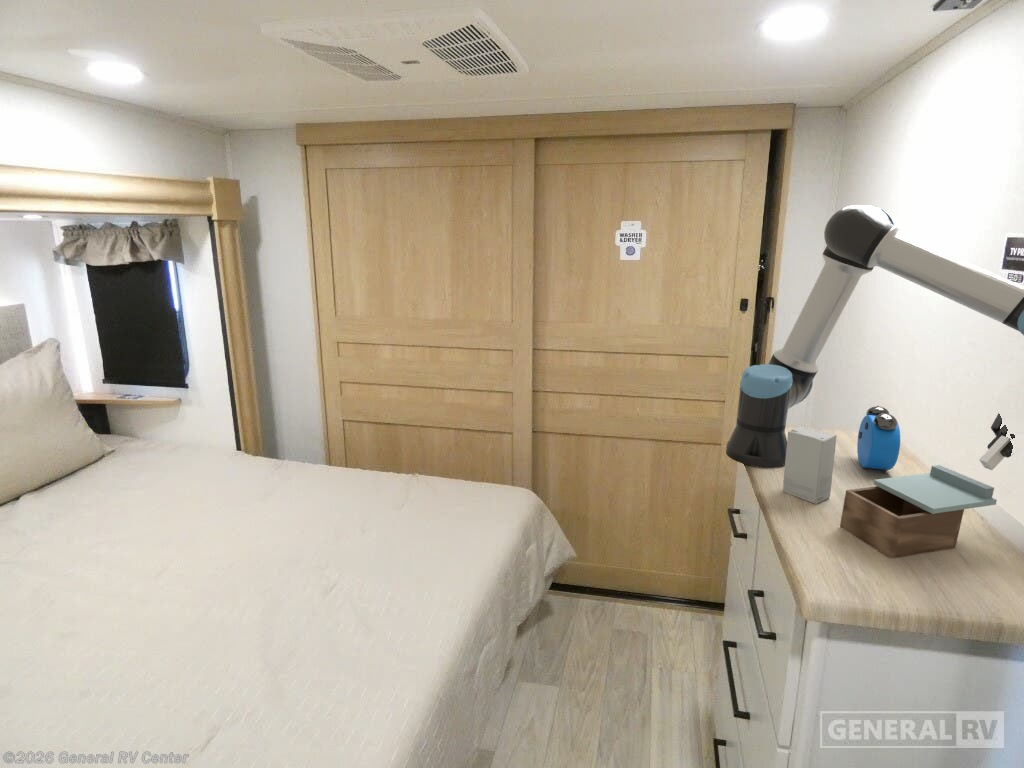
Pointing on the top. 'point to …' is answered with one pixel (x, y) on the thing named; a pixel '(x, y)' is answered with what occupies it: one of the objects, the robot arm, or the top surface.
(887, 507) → the box
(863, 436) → the alarm clock
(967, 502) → the lid
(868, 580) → the top surface
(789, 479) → the skincare box
